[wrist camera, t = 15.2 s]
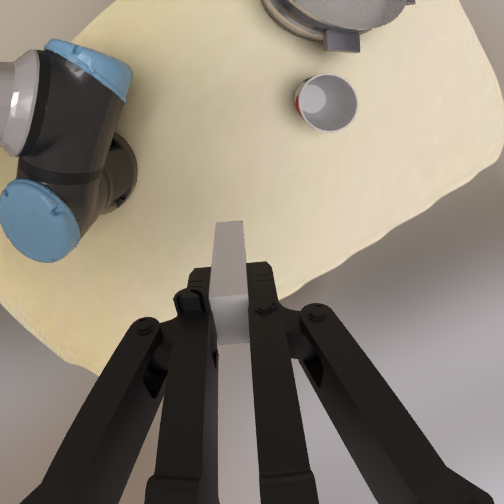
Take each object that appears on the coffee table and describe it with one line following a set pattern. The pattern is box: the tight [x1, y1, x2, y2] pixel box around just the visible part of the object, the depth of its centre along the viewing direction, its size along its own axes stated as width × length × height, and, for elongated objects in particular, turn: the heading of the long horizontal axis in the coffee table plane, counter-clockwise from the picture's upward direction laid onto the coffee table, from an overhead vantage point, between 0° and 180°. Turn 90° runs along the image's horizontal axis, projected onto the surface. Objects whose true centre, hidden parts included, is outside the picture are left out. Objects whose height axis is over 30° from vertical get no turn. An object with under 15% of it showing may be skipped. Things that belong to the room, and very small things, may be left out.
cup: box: [294, 73, 358, 132], centre depth 40 cm, size 8×8×10 cm
